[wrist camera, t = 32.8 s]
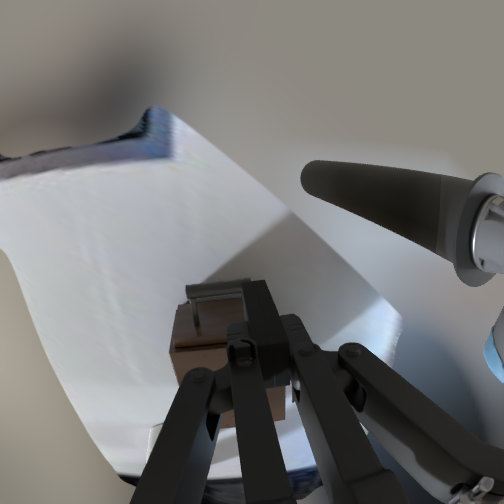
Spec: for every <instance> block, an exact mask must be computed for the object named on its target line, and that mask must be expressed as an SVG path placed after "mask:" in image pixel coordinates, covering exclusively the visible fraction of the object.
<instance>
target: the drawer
mask: <svg viewBox="0 0 504 504" xmlns="http://www.w3.org/2000/svg"><path fill="white" fill-rule="evenodd" d="M243 282H251V279H250V278H244V279H236V280H227V281H219V282H210V283H201V284H192V285H186V296H187V299H190V304H182V305H178V310H177V315H176V321H175V327H174V333H173V339H172V340H173V343H174V347H175V348H176V347H184V348H190V347H198V346H199V345H209V344H218V343H227V334H226V328H227V327H228V325H229V323H236V322H244V321H245V318H244V309H243V300H242V298H236V299H227V300H219V301H210V302H201V303H196V299H195V298H202V297H211V296H219V295H228V294H236V293H242V290H241V283H243Z"/></svg>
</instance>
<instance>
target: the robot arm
mask: <svg viewBox="0 0 504 504" xmlns="http://www.w3.org/2000/svg"><path fill="white" fill-rule="evenodd" d="M469 255H470V259H471V262H472V263H473V265H474V266H475V267H476V268H478V269H480V270H481V271H483V272H489V273H501V274H504V196H502V195H499V194H490V195H488V196H486V197H485V198H484V199H483V200H482V202H481V203H480V204H479V206H478V208H477V210H476V212H475V215H474V217H473V220H472V224H471V228H470V233H469ZM241 290H242V300H243V309H244V318H245V321H244V322H236V323H229V325H228V327H227V328H226V334H227V347H226V351H227V357H228V362H227V364H226V365H225V366H224V367H222V368H221V369H218V370H216V371H212V370H210V369H209V368H205V367H196V368H193V369H191V370H189V371H188V372H187V373H186V374H185V375H184V377H183V380H182V382H181V384H180V387H179V389H178V391H177V393H176V396H175V398H174V400H173V403H172V405H171V407H170V410H169V412H168V414H167V416H166V419H165V421H164V423H163V426H162V428H161V430H160V433H159V435H158V437H157V440H156V442H155V444H154V447H153V449H152V451H151V454H150V456H149V458H148V461H147V463H146V466H145V468H144V470H143V473H142V475H141V477H140V480H139V482H138V485H137V487H136V489H135V492H134V494H133V496H132V499H131V501H130V504H200V503H201V499H202V496H203V492H204V488H205V484H206V480H207V476H208V473H209V469H210V465H211V461H212V457H213V453H214V449H215V445H216V441H217V437H218V434H219V430H220V426H221V422H222V418H223V413H225V412H228V411H230V410H233V409H234V417H235V426H236V434H237V442H238V450H239V457H240V464H241V472H242V479H243V486H244V493H245V499H246V504H297V502H296V499H295V498H294V496H293V494H292V491H291V487H290V483H289V479H288V476H287V472H286V468H285V464H284V460H283V456H282V453H281V449H280V445H279V441H278V437H277V433H276V429H275V425H274V421H273V417H272V413H271V409H270V405H269V401H268V397H267V393H266V389H269V388H275V387H281V386H287V385H290V379H291V382H292V403H293V402H294V401H295V402H296V405H297V408H298V411H299V414H300V417H301V420H302V423H303V426H304V429H305V432H306V435H307V438H308V441H309V444H310V446H311V449H312V452H313V455H314V458H315V461H316V464H317V467H318V470H319V473H320V476H321V479H322V482H323V485H324V487H325V491H326V493H327V496H328V499H329V502H330V504H410V502H409V500H408V498H407V496H406V494H405V492H404V490H403V488H402V486H401V484H400V483H399V481H398V479H397V477H396V475H395V474H394V473H393V472H392V471H391V470H390V469H384V468H383V466H382V465H381V463H380V461H379V459H378V457H377V455H376V453H375V451H374V449H373V447H372V445H371V443H370V441H369V440H368V438H367V436H366V434H365V432H364V430H363V428H362V426H361V424H362V425H363V426H364V427H365V428H366V429H367V430H368V431H369V432H370V433H371V434H372V435H373V437H375V439H376V440H377V441H378V442H379V443H380V444H381V445H382V446H383V447H384V448H385V449H386V450H387V451H388V452H389V453H390V454H391V455H392V456H393V457H394V458H395V459H396V460H397V461H398V462H399V464H400V465H401V466H403V468H405V470H407V472H408V473H409V474H410V475H411V476H412V477H413V478H414V479H415V480H416V481H417V482H418V483H419V484H421V486H422V487H423V488H424V489H425V490H427V491H428V492H429V493H430V494H431V495H432V496H434V497H435V498H437V499H438V500H440V501H441V502H443V503H445V504H504V450H503V449H500V448H497V447H494V446H491V445H488V444H485V443H484V442H482V441H481V440H480V439H479V438H477V437H476V436H475V435H474V434H472V433H471V432H470V431H469V430H467V429H466V428H465V427H464V426H462V425H461V424H460V423H459V422H457V421H456V420H455V419H454V418H452V417H451V416H450V415H449V414H447V413H446V412H445V411H444V410H442V409H441V408H440V407H439V406H438V405H436V404H435V403H434V402H433V401H431V400H430V399H429V398H428V397H426V396H425V395H424V394H423V393H421V392H420V391H419V390H418V389H416V388H415V387H414V386H412V385H411V384H410V383H409V382H407V381H406V380H405V379H404V378H403V377H401V376H400V375H399V374H398V373H397V372H395V371H394V370H393V369H392V368H390V367H389V366H388V365H387V364H385V363H384V362H383V361H382V360H380V359H379V358H378V357H377V356H375V355H374V354H373V353H372V352H371V351H369V350H368V349H367V348H366V347H364V346H363V345H361V344H359V343H355V342H354V343H345V344H343V345H342V346H340V348H339V350H338V351H324V350H321V348H320V347H319V346H318V345H316V344H314V343H313V342H312V341H311V339H310V337H309V335H308V333H307V331H306V329H305V327H304V325H303V323H302V321H301V319H300V318H299V317H298V316H296V315H295V314H289V315H282V316H279V314H278V311H277V309H276V306H275V304H274V302H273V299H272V297H271V294H270V292H269V289H268V287H267V284H266V282H265V280H259V281H251V282H243V283H241ZM484 357H485V360H486V362H487V364H488V366H489V368H490V369H491V371H492V372H493V373H494V375H495V376H496V377H497V378H498V379H499V380H500V381H501V382H503V383H504V307H503V309H502V311H501V313H500V315H499V317H498V319H497V321H496V323H495V325H494V326H493V327H492V329H491V333H490V335H489V337H488V339H487V342H486V343H485V346H484ZM360 423H361V424H360Z"/></svg>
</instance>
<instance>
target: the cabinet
mask: <svg viewBox="0 0 504 504" xmlns="http://www.w3.org/2000/svg"><path fill="white" fill-rule="evenodd" d="M176 315H177V310H176V314H175V320H174V325H173V331H172V337H171V343H170V350H169V356H170V359H171V362H172V366H173V369H174V372H175V375H176V378H177V381H178V384H179V387H180V384H181V382H182V380H183V377H184V375H185V374H186V373H187V372H188V371H189V370H191V369H193V368H196V367H205V368H209V369H210V370H212V371H216V370H218V369H221V368H222V367H224V366H225V365H226V364H227V362H228V357H227V351H226V347H227V344H219V345H210V346H200V347H190V348H184V347H176V348H175V347H174V343H173V340H172V339H173V333H174V327H175V321H176ZM266 393H267V397H268V401H269V405H270V409H271V413H272V417H273V421H280V420H285V386H281V387H275V388H269V389H266ZM232 427H236V426H235V417H234V409H233V410H230V411H228V412H225V413H223V418H222V422H221V426H220V429H223V428H232Z"/></svg>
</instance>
